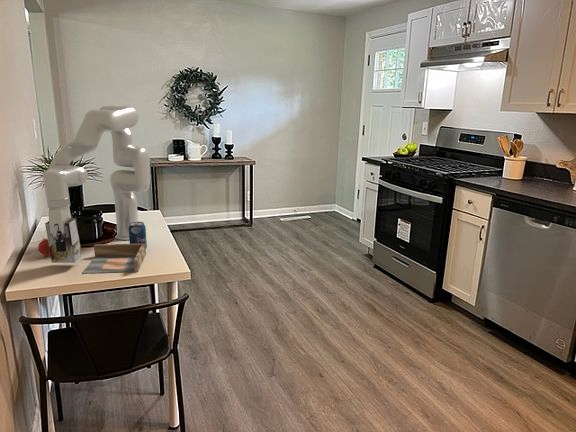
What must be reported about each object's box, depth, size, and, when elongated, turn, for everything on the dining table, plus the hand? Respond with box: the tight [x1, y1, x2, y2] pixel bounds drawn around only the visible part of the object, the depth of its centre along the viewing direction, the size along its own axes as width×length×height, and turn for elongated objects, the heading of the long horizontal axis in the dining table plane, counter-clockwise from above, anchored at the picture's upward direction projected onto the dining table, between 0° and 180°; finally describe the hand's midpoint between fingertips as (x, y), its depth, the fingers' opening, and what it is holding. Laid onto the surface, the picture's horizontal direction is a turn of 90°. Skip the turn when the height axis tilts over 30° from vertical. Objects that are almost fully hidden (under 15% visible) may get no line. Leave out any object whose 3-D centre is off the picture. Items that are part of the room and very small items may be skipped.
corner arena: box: [81, 243, 147, 275], centre depth 168 cm, size 18×20×5 cm
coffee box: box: [44, 217, 83, 264], centre depth 161 cm, size 9×6×16 cm
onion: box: [37, 237, 51, 258], centre depth 172 cm, size 6×6×8 cm
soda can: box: [128, 221, 148, 249], centre depth 182 cm, size 7×7×12 cm
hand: (65, 247), depth 162 cm, fingers closed on coffee box, 6 cm apart
